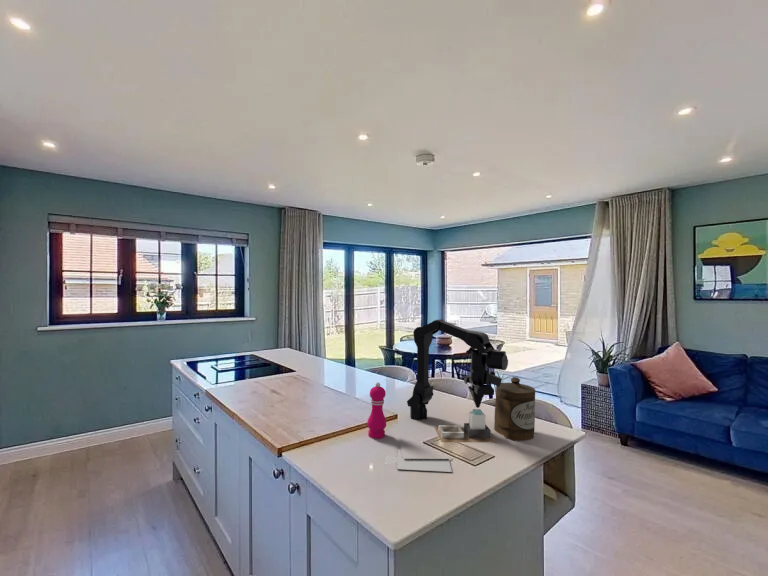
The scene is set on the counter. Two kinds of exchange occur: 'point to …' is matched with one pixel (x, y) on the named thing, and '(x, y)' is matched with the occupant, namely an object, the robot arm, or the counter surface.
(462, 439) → the brown board with frames
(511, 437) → the wooden container
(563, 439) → the counter surface
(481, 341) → the robot arm
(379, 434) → the pepper mill
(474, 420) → the plug
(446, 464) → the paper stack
